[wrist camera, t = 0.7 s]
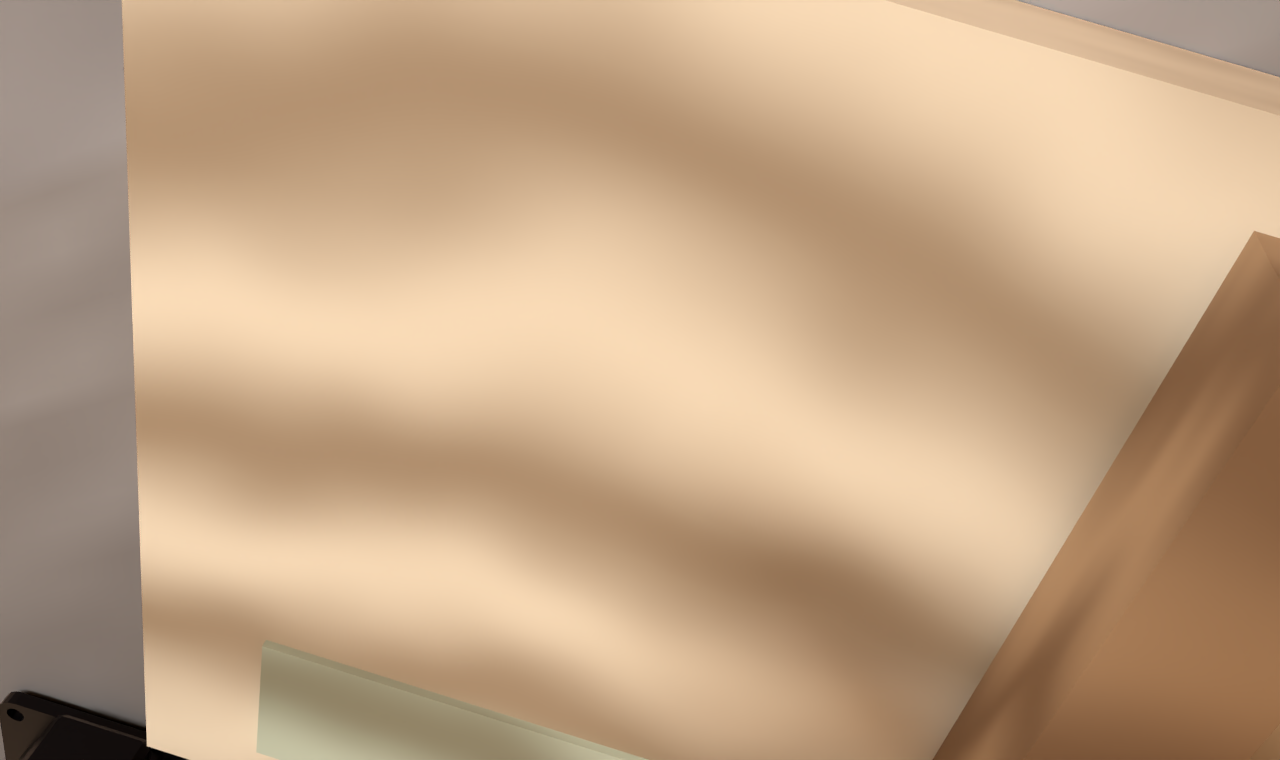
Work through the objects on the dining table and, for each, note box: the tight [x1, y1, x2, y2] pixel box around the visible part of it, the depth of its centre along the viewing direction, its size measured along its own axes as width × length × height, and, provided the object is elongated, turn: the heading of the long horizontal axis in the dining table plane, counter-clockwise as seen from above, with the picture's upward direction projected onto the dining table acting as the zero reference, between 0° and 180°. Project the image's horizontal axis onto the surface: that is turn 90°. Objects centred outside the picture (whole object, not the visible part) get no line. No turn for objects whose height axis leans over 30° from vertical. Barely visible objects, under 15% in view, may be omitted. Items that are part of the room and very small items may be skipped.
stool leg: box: [933, 231, 1280, 760], centre depth 21 cm, size 20×3×3 cm, turn 167°
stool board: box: [122, 0, 1280, 760], centre depth 24 cm, size 23×24×2 cm
